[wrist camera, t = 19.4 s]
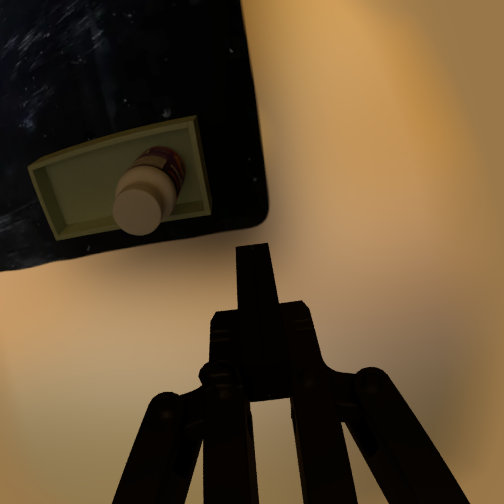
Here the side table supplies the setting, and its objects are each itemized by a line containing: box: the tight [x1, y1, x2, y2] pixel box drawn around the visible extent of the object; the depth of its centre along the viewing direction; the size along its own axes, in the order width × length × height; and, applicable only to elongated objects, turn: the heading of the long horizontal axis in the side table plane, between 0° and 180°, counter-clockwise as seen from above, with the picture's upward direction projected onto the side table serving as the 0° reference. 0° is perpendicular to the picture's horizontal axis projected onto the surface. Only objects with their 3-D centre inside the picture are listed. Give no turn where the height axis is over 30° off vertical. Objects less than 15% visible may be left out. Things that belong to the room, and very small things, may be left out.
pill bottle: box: [112, 146, 186, 235], centre depth 26 cm, size 5×5×10 cm
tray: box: [27, 115, 213, 241], centre depth 29 cm, size 19×10×3 cm, turn 96°
